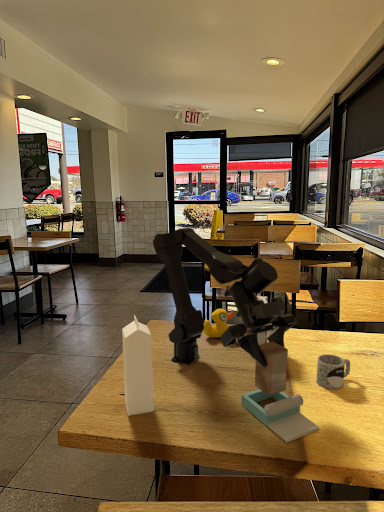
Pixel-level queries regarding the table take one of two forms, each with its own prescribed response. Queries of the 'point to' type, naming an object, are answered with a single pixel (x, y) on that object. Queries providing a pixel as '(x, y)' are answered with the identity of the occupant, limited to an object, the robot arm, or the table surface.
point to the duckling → (217, 323)
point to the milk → (137, 368)
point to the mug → (332, 371)
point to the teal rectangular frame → (280, 414)
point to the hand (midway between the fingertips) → (275, 363)
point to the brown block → (272, 369)
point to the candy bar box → (263, 336)
